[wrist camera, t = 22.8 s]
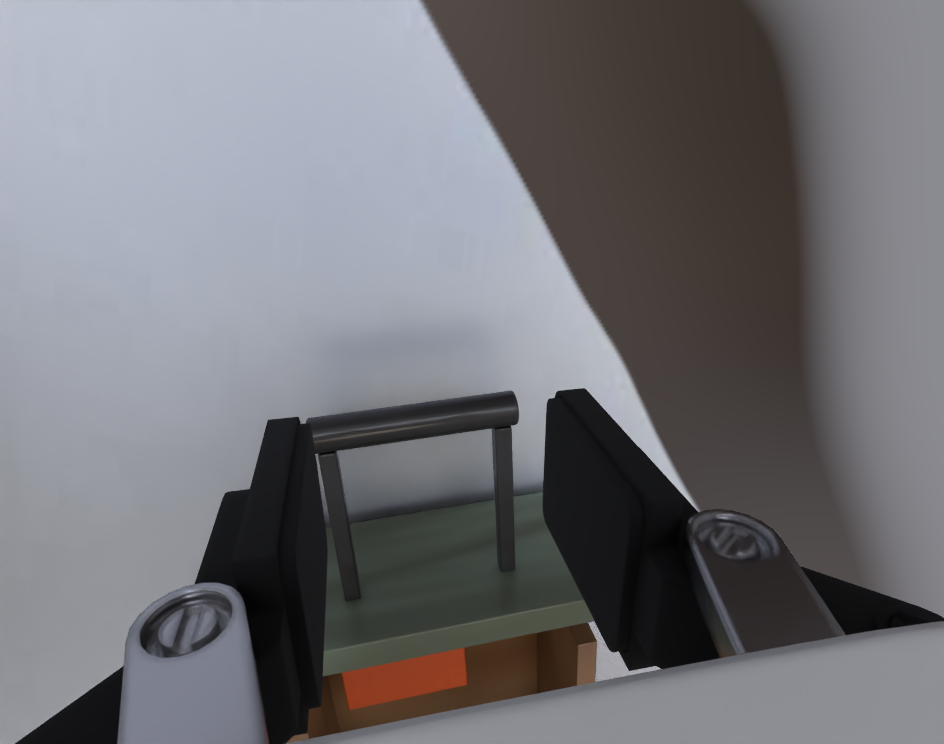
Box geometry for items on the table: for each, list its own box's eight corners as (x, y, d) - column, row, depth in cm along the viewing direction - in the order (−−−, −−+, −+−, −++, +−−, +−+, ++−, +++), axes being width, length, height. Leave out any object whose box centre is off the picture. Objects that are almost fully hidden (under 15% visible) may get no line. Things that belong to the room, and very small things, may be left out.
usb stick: (348, 653, 27) (348, 711, 25) (341, 615, 26) (340, 671, 24) (523, 618, 29) (541, 669, 26) (522, 581, 28) (541, 630, 25)
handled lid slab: (227, 379, 22) (182, 475, 16) (560, 338, 24) (632, 409, 18) (316, 739, 31) (308, 892, 25) (556, 686, 33) (605, 814, 27)
